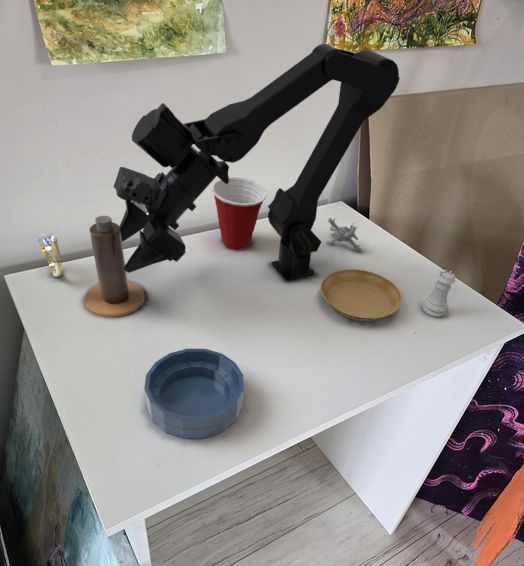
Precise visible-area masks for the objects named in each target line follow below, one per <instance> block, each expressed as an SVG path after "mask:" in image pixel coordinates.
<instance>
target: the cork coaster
mask: <svg viewBox="0 0 524 566" xmlns="http://www.w3.org/2000/svg"><path fill="white" fill-rule="evenodd" d="M127 283H128V291H129V297H128V299H127V300H126V301H124V302H122V303H118V304H110V303H106V302H105V301H103V299H102V296H101V291H100V285H99V283H97V284H95V285H93V286H92V287H90V289H89V290H87V292H86V294H85V296H84V303H85V306H86V307H87V308H86V309H88V310H89V311H90V312H91V313H93V314H95V315H98V316H102V317H107V318H109V317H110V318H113V317H122V316H123V317H124V316H126V315H130V314H131V313H134V312H135V311H137V310H139V309H140V308H141V307H142V306H143V304H144V302H145V298H146V296H145V291H144V289H143V288H142V287H141V286H140V285H139V284H137V283H136V282H133V281H131V280H127Z"/></svg>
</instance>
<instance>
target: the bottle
mask: <svg viewBox="0 0 524 566" xmlns="http://www.w3.org/2000/svg"><path fill="white" fill-rule="evenodd" d="M94 220H95V221H94V222H95V223H94V224H92V225H91V226H90V227H89V235H90V236H89V237H90V240H91V246H92V252H93V258H94V263H95V268H96V274H97V281H98V284H99V285H100V291H101V296H102V299H103V301H105V302H106V303H110V304H118V303H122V302H124V301H126V300H127V299H128V297H129V291H128V283H127V281H128V276H127V272H126V271H125V270H124V267H125V265H126V261H125V255H124V254H125V253H124V246H123V242H122V239H121V231H120V227H119V226H120V224H117V223H116V222H113V220H112V217H111V216H109V215H99V216H97V217H95V219H94Z"/></svg>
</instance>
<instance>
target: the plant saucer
mask: <svg viewBox="0 0 524 566" xmlns="http://www.w3.org/2000/svg"><path fill="white" fill-rule="evenodd" d="M319 288H320V290H319V291H320V294H321V297H322V298H323V299H324V301H325V302H326V303H327V305H328V306H329V307H330V308H331V309H333V310H334V311H335V312H336V313H338V315H341V316H343V317H345V318H347V319H350V320H353V321H359V322H372V321H377V320H381V319H384V318H387V317H389V316H391V315H393V314H394V313H396V312H397V311H398V310H400V308H401V306H402V303H403V296H402V293H401V291H400V289H399V288H398V286H397V285H396V284H394V283H393V281H391V279H390V280H389V279H388V278H387V277H385V276H383V275H381V274H378V273H375V272H372V271H370V270H369V271H368V270H366V269H365V270H364V269H356V268H347V269H340V270H339V269H338V270H336V271H333V272H330V273H329V274H327V275H326V276H325V277H324V278H323V279H322V280H321V283H320V285H319Z"/></svg>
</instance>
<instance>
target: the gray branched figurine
mask: <svg viewBox="0 0 524 566" xmlns="http://www.w3.org/2000/svg"><path fill="white" fill-rule="evenodd" d="M335 221H336V217H334V218H333V219H332V218H331V217H329V218H328V219H327V222H328V223H329V224H330V227H329V230H330V232H334V233H333V235H334V240H332V241H331V242H329V244H333V243H335V242H339V243H341V242H347V243H349V244H350V245H351V246H353V248H354V250H356V251H357V252H358V253H359V252H361V251H362V248H361V247H360V246H361V243H359V244H356V242H354V240H353V239H355V240H356V241H359V237H358V236H357V235H356V229H358V228H359V226H355V225H354V224H355V222H352V223H351V224H350V225H349V227H347V226H346V225H345V226H338V225H337V224H336V223H335Z"/></svg>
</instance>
